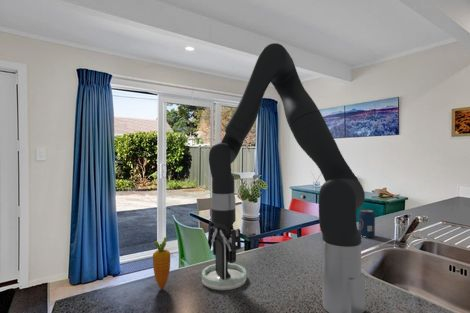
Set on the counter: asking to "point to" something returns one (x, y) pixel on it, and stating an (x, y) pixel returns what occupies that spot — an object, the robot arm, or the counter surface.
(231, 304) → the counter surface
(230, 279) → the dish
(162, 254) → the carrot
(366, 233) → the soda can
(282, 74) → the robot arm
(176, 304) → the counter surface
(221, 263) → the battery charger
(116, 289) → the counter surface
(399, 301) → the counter surface
